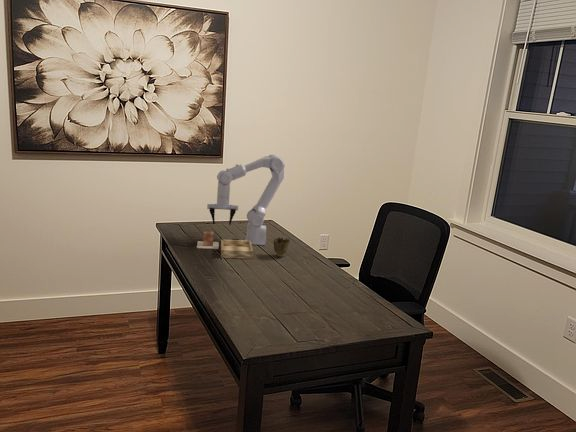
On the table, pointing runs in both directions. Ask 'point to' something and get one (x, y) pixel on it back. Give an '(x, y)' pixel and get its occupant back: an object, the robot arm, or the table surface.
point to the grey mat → (215, 246)
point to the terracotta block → (208, 238)
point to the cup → (281, 246)
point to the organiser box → (236, 249)
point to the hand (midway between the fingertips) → (221, 224)
